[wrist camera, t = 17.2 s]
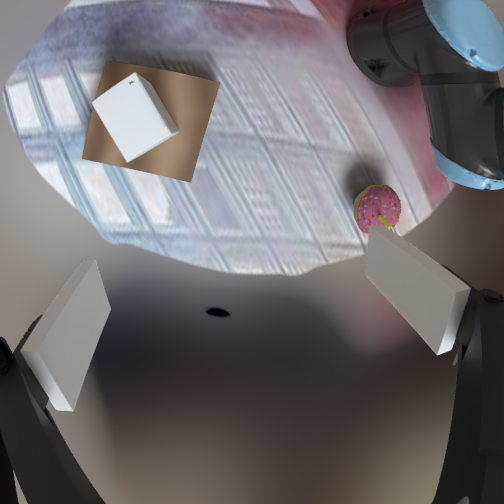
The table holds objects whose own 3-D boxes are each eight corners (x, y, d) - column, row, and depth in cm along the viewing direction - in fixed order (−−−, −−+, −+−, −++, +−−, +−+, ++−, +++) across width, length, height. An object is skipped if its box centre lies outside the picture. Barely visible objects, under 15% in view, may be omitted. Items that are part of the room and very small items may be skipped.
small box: (116, 105, 35) (88, 101, 26) (151, 82, 35) (134, 69, 25) (144, 154, 38) (125, 164, 29) (180, 132, 38) (172, 134, 29)
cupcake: (351, 233, 54) (385, 262, 43) (337, 190, 50) (371, 210, 39) (390, 214, 53) (429, 237, 42) (378, 171, 50) (419, 186, 39)
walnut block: (218, 87, 42) (220, 82, 36) (192, 175, 46) (191, 182, 41) (118, 67, 38) (106, 60, 32) (95, 154, 43) (81, 158, 37)
